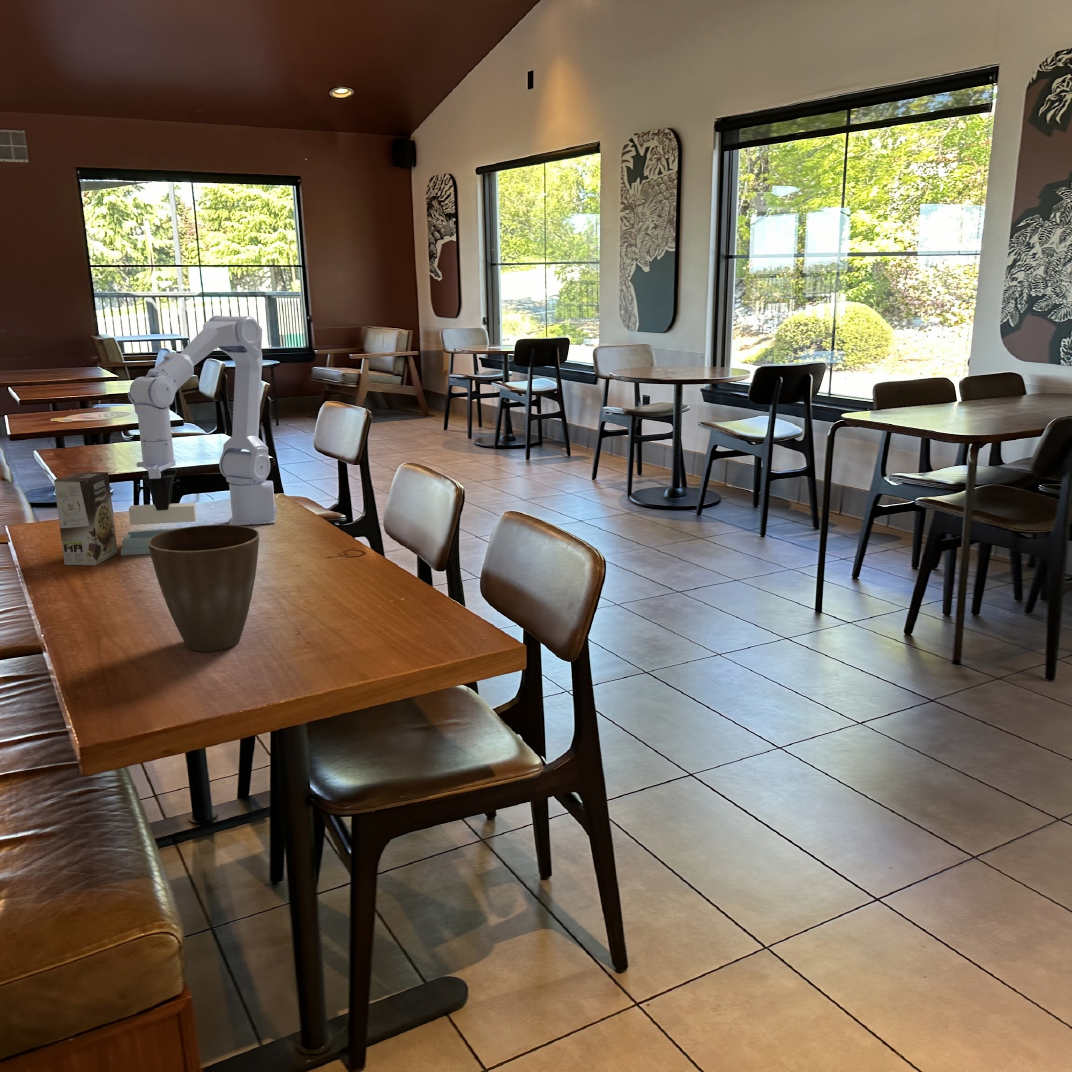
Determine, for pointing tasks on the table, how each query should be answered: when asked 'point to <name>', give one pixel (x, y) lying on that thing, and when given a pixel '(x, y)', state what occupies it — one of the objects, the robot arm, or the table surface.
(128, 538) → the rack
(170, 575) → the plant pot
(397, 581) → the table surface
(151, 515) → the beige rectangular block
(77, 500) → the food box
